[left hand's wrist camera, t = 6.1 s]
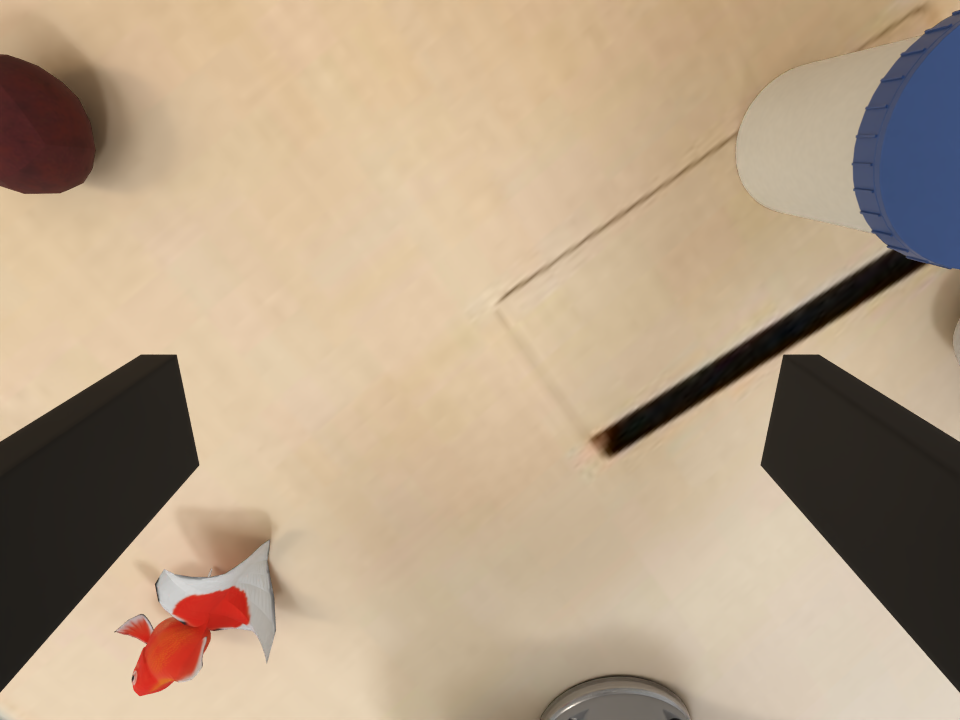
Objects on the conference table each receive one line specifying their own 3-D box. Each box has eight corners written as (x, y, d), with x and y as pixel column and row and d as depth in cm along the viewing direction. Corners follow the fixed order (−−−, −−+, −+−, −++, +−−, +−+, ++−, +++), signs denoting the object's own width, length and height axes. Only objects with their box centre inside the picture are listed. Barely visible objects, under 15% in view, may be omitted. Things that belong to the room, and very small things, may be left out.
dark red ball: (53, 37, 34) (-49, 12, 28) (146, 150, 37) (73, 151, 30) (-26, 110, 36) (-140, 103, 29) (68, 214, 38) (-18, 229, 31)
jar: (779, 241, 39) (946, 295, 25) (708, 133, 36) (849, 126, 22) (903, 149, 37) (1161, 152, 23) (836, 27, 34) (1080, -53, 20)
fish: (57, 608, 44) (49, 718, 37) (227, 479, 48) (253, 555, 40) (156, 659, 51) (167, 761, 43) (300, 542, 54) (333, 617, 47)
